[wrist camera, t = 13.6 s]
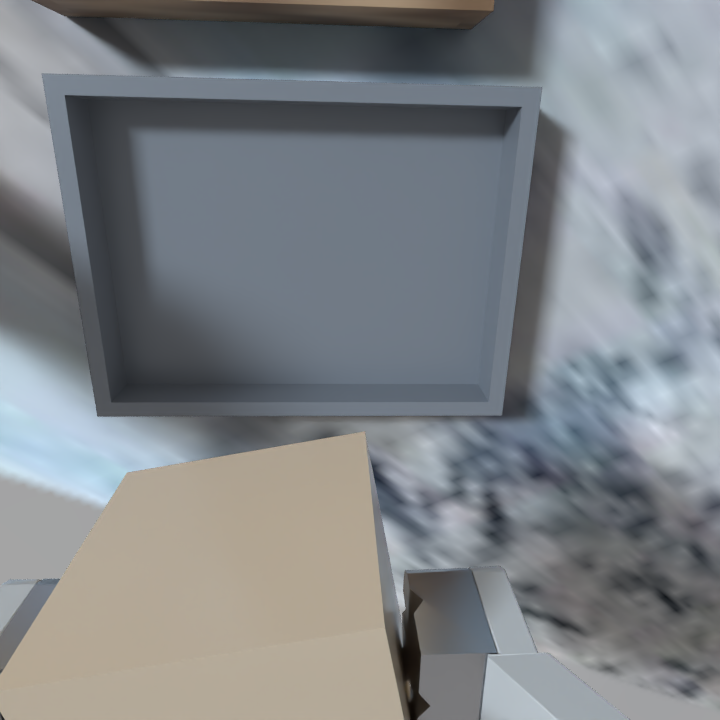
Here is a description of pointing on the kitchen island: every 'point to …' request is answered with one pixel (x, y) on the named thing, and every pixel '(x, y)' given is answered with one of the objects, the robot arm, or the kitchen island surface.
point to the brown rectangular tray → (289, 11)
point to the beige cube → (225, 598)
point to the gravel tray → (294, 242)
